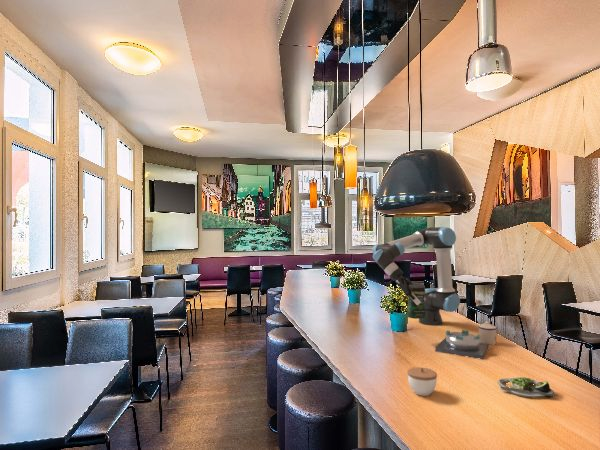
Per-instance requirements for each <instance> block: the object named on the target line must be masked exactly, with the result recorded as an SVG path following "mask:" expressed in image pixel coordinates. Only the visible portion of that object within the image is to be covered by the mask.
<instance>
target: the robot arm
mask: <svg viewBox="0 0 600 450" xmlns="http://www.w3.org/2000/svg"><path fill="white" fill-rule="evenodd" d="M456 241H457V236H456V232H455V231H454V230H453V228H451V227H446V226H437V227H436V226H435V227H433V226H432V227H426V228H424V229H420V230H417V231H415V232H413V234H411V235H407V236H405V237H401V238H398V239H394V240H392V241H388V242H386V243H385V242H384V243H382V244H375V245H373V247H372V249H371V251H372V259H373V260H374V261H375V263H376V264H378V266H379V267H380V268H381V269H382V270H383V271H384V272H385V274H387V276H389V278H390V279H391V280H392V281H393V282H395V284H396V285H397V286H398V287H399V289H400V290H401V291H402V292H403V294H404V295H405V296H406V297H407V298H408V296H409V297H410V298H411V299H412V300H413V301H414V302H415V304H416V305H419V304H420V303H421V301H420V300H419V299H418V298H417V297H416V296H415V295H414V294H413V293H412V294H411V291H410V289H409V288H408V285H411V284H414V283H413V282H412V281H411V280H410V279H409V278H408V277H407V276H403V275H404V271H402V269H401V268H400V267H399V266H398V265H397V264H396V263H395V262H394V260H395V259H397V258H398V257H401V256H402V255H403V254H405V251H406V249H410V248H413V247H416V246H425V245H427V246H428V245H430V246H431V245H432V248H433V250H434V251H435V256H436V257H435V259H436V271H437V287H435V288H425V295H424V305H425V318H422V319H418V322H419V324H423V325H428V326H440V325H443V319H442V318H443V317H442V314H441V311H444V312H448V313H450V312H451V313H452V312H455V311H456V310H458V308H459V306H460V304H461V299H460V296H459V295H458V294H457V293H456V289H455V288H454V287H453V275H452V262H451V261H452V260H451V259H452V258H451V257H452V256H451V250H452V249H453V246H454V245H455V243H456Z"/></svg>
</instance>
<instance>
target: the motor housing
mask: <svg viewBox="0 0 600 450" xmlns="http://www.w3.org/2000/svg"><path fill="white" fill-rule="evenodd" d="M434 348H435V349H434V350H435V351H434V352H439V353H442V354H443V353H444V354H448V353H449V355H454V354H456V355H455V356H460V355H461V357H465V356H468V357H467V358H471V357H474V358H473V359H477V358H480V359H479V360H483V359H484V358H483V357H485V356H486V354H487V352H488V351H489V349H490V345H489V344H485V343H480V335H479V334H473V333H470V332H469V330H466V329H461V331H450V330H446V331H445V338H443V339H442V341H441V342H439V343H438V344H437V345H436V346H435V347H434ZM488 348H489V349H488ZM487 350H488V351H487ZM484 355H485V356H484Z"/></svg>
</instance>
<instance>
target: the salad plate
mask: <svg viewBox="0 0 600 450" xmlns="http://www.w3.org/2000/svg"><path fill="white" fill-rule="evenodd" d="M508 382H510V384H509V385H510V388H509V386H508V385H507V386H506V383H508ZM497 384H498V385H499V386H500V390H502V391H506V392H508V393H509V394H513V395H516V396H519V395H520V396H519V397H523V396H524V398H528V397H532V398H531V399H533V397H547V398H551V397H556V396H558V395H557V394H555V391H554V390H553V389H552V388H550V383H549V382H548V381H546V380H545V381H544V380H543V381H538V380H536V379H532V378H529V377H524V376H521V377H520V376H519V377H511V378H510V377H509V378H507V377H506V378H499V379H498V381H497ZM533 384H534V385H533Z"/></svg>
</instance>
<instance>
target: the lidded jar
mask: <svg viewBox="0 0 600 450" xmlns="http://www.w3.org/2000/svg"><path fill="white" fill-rule="evenodd" d="M437 379H438V374H437V371H435V370H434V369H431V368H427V367H421V366H418V367H416V366H414V367H410V368H408V369H407V380H408V381H407V382H408V385H409V387H410V389H411V390H412V391H413V393H414V392H415V393H416V395H417V394H418V396H421V397H422V396H424V397H426V396H428V397H429V396H430V395H431V394H432V393H433V392H434V391H435V389H436V388H437V387H436V386H437ZM415 393H414V394H415Z"/></svg>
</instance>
